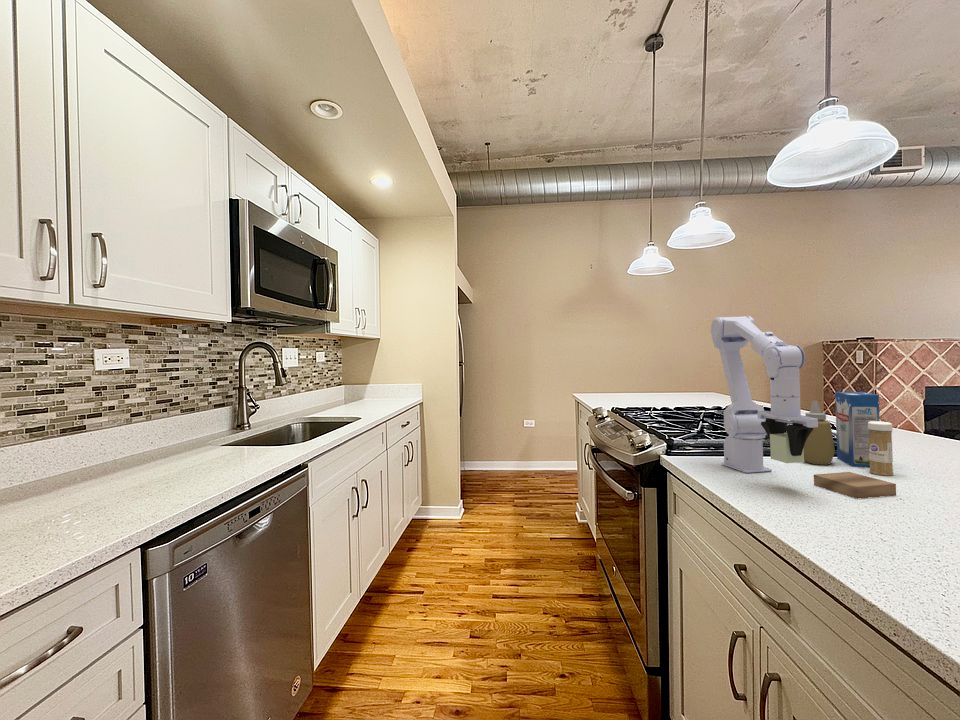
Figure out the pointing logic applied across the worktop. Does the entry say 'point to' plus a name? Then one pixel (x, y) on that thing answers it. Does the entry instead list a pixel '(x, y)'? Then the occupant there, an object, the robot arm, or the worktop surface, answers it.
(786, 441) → the sage block
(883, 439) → the sprinkles bottle
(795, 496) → the worktop surface
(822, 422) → the squeeze bottle
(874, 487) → the walnut block
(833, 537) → the worktop surface
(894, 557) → the worktop surface
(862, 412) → the milk carton
